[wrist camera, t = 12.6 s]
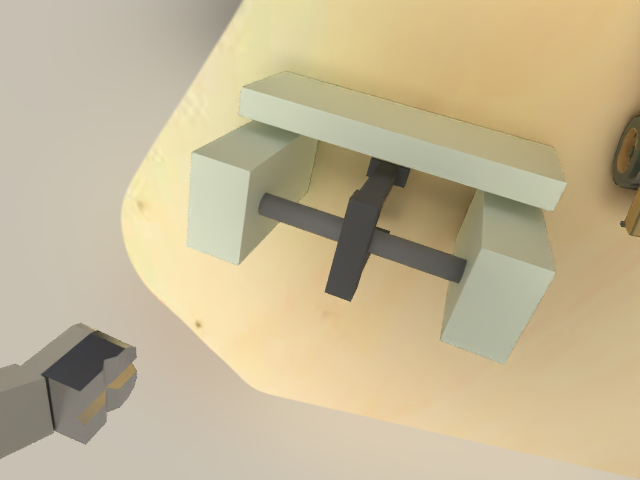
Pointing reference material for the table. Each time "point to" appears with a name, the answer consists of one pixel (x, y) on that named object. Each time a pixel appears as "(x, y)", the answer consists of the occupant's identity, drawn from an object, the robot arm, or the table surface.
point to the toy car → (629, 172)
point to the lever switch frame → (400, 148)
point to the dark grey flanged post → (362, 226)
